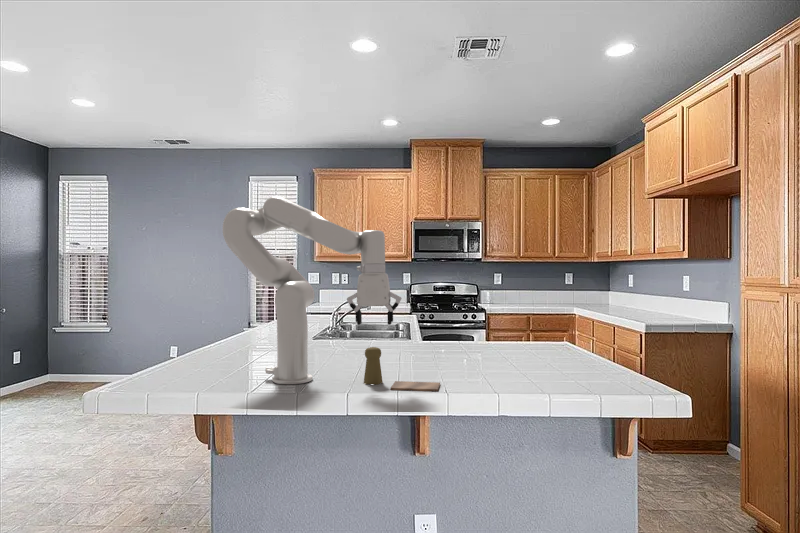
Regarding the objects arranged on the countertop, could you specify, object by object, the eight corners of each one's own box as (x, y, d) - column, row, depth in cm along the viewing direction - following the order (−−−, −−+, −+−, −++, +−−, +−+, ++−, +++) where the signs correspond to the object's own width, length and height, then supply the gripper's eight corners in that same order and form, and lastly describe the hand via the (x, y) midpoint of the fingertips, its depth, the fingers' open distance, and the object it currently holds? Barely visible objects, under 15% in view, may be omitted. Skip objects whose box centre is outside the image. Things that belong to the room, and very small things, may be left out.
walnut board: (390, 389, 156) (390, 387, 156) (395, 383, 165) (395, 381, 165) (437, 391, 154) (437, 389, 154) (440, 384, 163) (440, 382, 163)
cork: (383, 380, 169) (383, 346, 169) (381, 384, 163) (381, 349, 163) (365, 380, 169) (365, 345, 169) (362, 384, 163) (361, 348, 163)
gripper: (343, 270, 163) (344, 325, 163) (398, 269, 161) (400, 325, 161) (349, 270, 171) (350, 323, 171) (402, 269, 168) (403, 322, 168)
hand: (374, 324), depth 166 cm, fingers open, 9 cm apart
